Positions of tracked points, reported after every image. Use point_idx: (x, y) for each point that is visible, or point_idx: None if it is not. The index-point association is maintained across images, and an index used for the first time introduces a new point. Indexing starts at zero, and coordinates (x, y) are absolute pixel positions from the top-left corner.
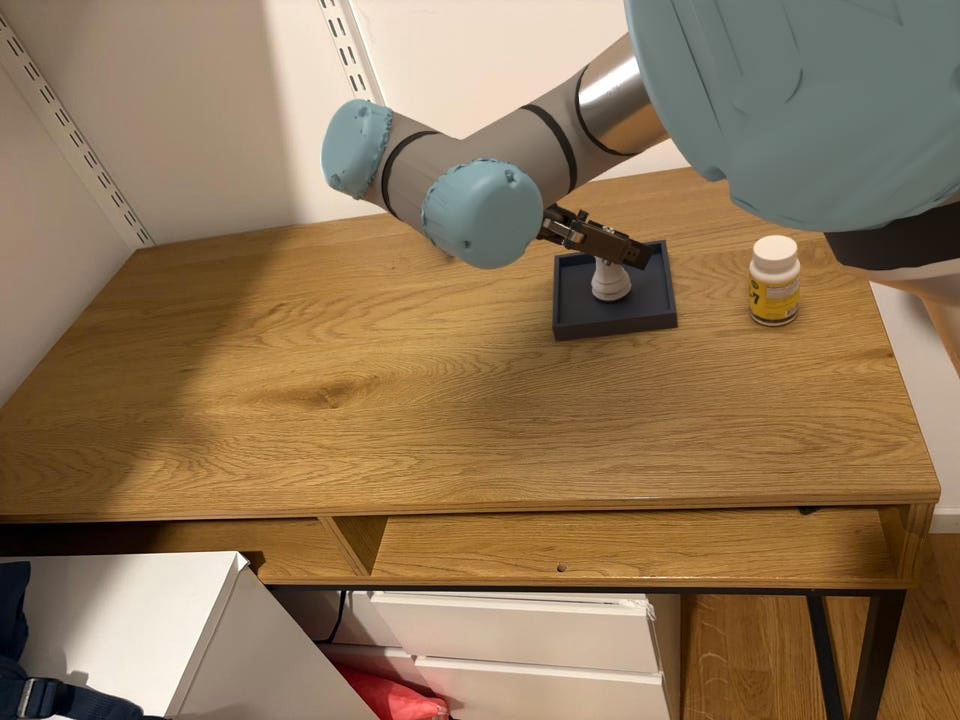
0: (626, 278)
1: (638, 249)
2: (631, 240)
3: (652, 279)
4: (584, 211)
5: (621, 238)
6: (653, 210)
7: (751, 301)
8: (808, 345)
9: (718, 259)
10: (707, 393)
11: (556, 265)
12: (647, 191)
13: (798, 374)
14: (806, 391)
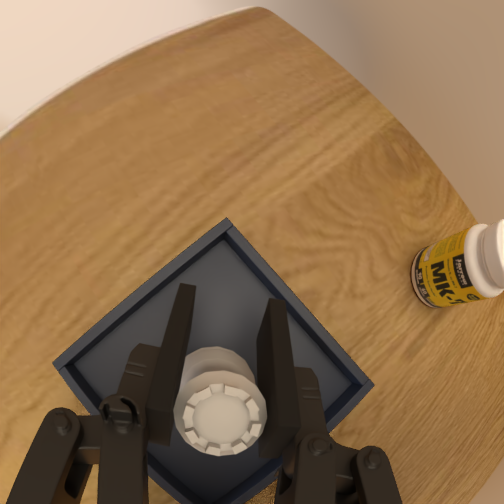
0: (249, 374)
1: (314, 376)
2: (293, 374)
3: (258, 314)
4: (121, 411)
5: (364, 470)
6: (130, 139)
7: (442, 299)
8: (476, 306)
9: (310, 206)
10: (440, 438)
11: (76, 390)
12: (97, 108)
13: (486, 349)
14: (496, 363)
